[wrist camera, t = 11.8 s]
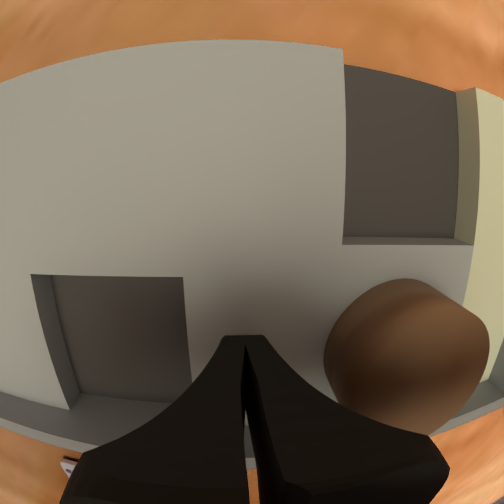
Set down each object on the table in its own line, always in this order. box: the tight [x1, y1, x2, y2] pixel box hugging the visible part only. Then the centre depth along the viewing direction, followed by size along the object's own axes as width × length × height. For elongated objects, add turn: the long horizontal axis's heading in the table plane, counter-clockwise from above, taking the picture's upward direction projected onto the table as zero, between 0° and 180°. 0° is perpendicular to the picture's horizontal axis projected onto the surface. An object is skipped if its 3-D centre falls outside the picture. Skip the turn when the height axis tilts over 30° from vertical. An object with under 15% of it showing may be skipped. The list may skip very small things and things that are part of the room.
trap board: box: [0, 40, 504, 469], centre depth 10 cm, size 15×28×3 cm, turn 89°
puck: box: [323, 278, 490, 435], centre depth 9 cm, size 6×6×3 cm
